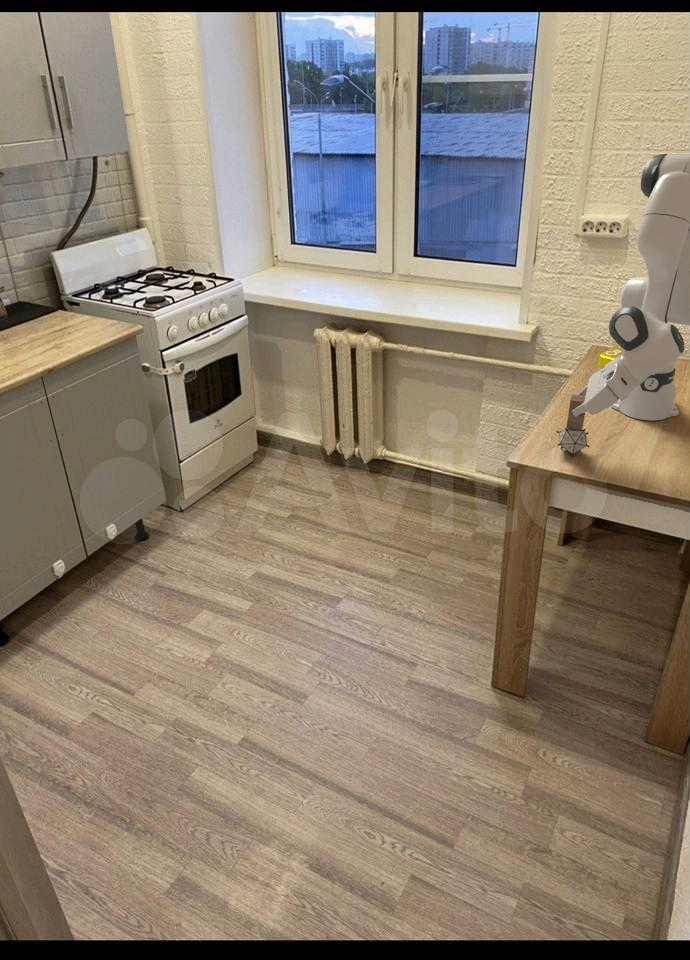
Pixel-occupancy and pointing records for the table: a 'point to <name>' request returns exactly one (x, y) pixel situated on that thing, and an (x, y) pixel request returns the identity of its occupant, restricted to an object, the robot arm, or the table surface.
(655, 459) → the table surface
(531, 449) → the table surface
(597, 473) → the table surface
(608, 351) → the element tile
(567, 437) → the game die
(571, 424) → the walnut block
